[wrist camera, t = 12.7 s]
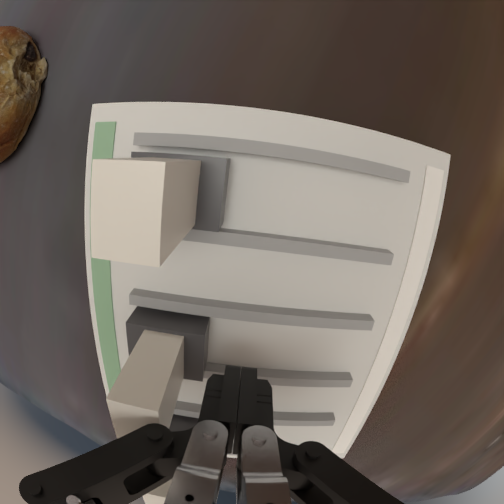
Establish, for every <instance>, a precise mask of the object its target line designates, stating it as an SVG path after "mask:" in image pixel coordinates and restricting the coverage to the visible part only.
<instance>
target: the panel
mask: <svg viewBox="0 0 504 504" xmlns="http://www.w3.org/2000/svg"><path fill="white" fill-rule="evenodd" d="M131 152H155V153H173V154H187V155H200V156H211V157H222V158H231V159H230V168H229V176H228V185H227V194H226V203H225V212H224V221H223V224H222V226H221V229H220V231H219V232H212V231H203V230H194V229H191V230H190V231H189V232H188V234H187V235H186V236H185V237H184V238H183V240H182V241H181V242H180V243H179V244H178V246H177V247H176V248H175V249H174V250H173V252H172V253H171V254H170V255H169V256H168V258H167V259H166V260H165V261H164V263H163V264H162V265H161V266H160V267H153V266H145V265H138V264H131V263H124V262H118V261H111V260H104V259H97V258H91V226H90V208H91V176H92V160H93V159H107V158H131ZM449 163H450V154H447V153H444V152H442V151H439V150H436V149H433V148H430V147H427V146H424V145H421V144H418V143H415V142H412V141H409V140H405V139H402V138H399V137H395V136H392V135H388V134H385V133H381V132H378V131H374V130H370V129H366V128H362V127H358V126H354V125H349V124H345V123H341V122H336V121H331V120H326V119H321V118H316V117H311V116H305V115H300V114H294V113H287V112H281V111H274V110H267V109H259V108H250V107H241V106H231V105H219V104H205V103H185V102H120V103H101V104H93V105H92V112H91V120H90V128H89V137H88V148H87V160H86V177H85V250H86V268H87V280H88V291H89V301H90V309H91V317H92V324H93V331H94V337H95V343H96V349H97V354H98V360H99V365H100V370H101V374H102V379H103V383H104V388H105V392H106V396H108V394H109V392H110V390H111V388H112V387H113V385H114V383H115V381H116V379H117V377H118V376H119V374H120V372H121V370H122V368H123V366H124V365H125V363H126V361H127V359H128V357H129V352H128V343H127V334H126V321H127V320H128V318H129V317H130V315H131V314H132V313H133V311H134V310H135V308H136V307H137V306H141V307H147V308H153V309H159V310H165V311H172V312H178V313H185V314H192V315H199V316H207V317H210V324H209V339H208V355H207V363H206V368H205V373H204V377H203V382H201V381H194V380H188V379H183V381H182V384H181V388H180V391H179V395H178V399H177V402H176V406H175V409H174V413H173V414H176V415H181V416H187V417H194V418H199V415H200V410H201V406H202V401H203V397H204V392H205V388H206V383H207V380H208V379H209V378H210V377H211V376H212V374H220V375H224V373H225V366H226V365H233V366H241V369H242V367H250V368H257V379H264V380H268V382H269V383H270V385H271V387H272V397H273V421H274V431H275V433H276V434H277V436H278V437H279V438H281V439H282V440H284V441H286V442H289V443H292V444H296V445H300V444H301V443H303V442H306V441H316V442H319V443H321V444H323V445H325V446H326V447H327V448H328V449H330V450H331V451H332V452H333V453H335V454H336V455H337V456H338V457H340V458H344V457H345V455H346V454H347V452H348V450H349V449H350V447H351V446H352V444H353V442H354V441H355V439H356V437H357V435H358V434H359V432H360V430H361V428H362V427H363V425H364V423H365V421H366V419H367V417H368V416H369V414H370V412H371V410H372V408H373V406H374V404H375V402H376V400H377V398H378V396H379V394H380V392H381V390H382V388H383V386H384V384H385V382H386V380H387V377H388V375H389V373H390V371H391V369H392V366H393V364H394V362H395V359H396V357H397V355H398V352H399V350H400V348H401V345H402V343H403V340H404V338H405V335H406V332H407V330H408V327H409V324H410V322H411V319H412V316H413V313H414V311H415V308H416V305H417V302H418V299H419V296H420V293H421V290H422V286H423V283H424V280H425V276H426V273H427V270H428V266H429V262H430V259H431V255H432V251H433V247H434V243H435V239H436V235H437V231H438V226H439V222H440V217H441V212H442V207H443V202H444V196H445V190H446V184H447V178H448V171H449ZM240 376H241V373H240ZM233 443H234V440H233ZM227 457H231V458H237V454H233V447H232V453H231V454H227Z"/></svg>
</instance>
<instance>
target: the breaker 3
mask: <svg viewBox="0 0 504 504" xmlns="http://www.w3.org/2000/svg"><path fill="white" fill-rule="evenodd" d="M198 419H199V418H194V417H187V416H181V415H176V414H173V417H172V420H171V424H170V428H169V430H170V431H171V432H173V431H184V430H188V429H190V428H192V427H194V426H195V425H196V424H197V422H198ZM172 479H173V478H172ZM172 479H171V480H169V481H167V482H166V483H164V484H162V485H161V486H159V487H157V488H156V489H154V490H152V491H150V492H149V493H147V494H145V495H143V499H144V501H145V504H164V502H165V499H166V496H167V493H168V490H169V487H170V485H171V482H172Z"/></svg>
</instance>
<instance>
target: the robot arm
mask: <svg viewBox="0 0 504 504" xmlns="http://www.w3.org/2000/svg"><path fill="white" fill-rule="evenodd" d="M240 373H241V376H240ZM233 440H234V443H233ZM232 447H233V454H237V464H236V494H237V495H236V497H237V498H236V499H237V504H291V498H292V499H294V500H295V501H296V502H297V503H298V504H404V503H402V502H401V501H399V500H398V499H396V498H395V497H393V496H392V495H390V494H389V493H387V492H386V491H385V490H383V489H382V488H380V487H379V486H377V485H376V484H375V483H373V482H372V481H370V480H369V479H368V478H366V477H365V476H363V475H362V474H361V473H359V472H358V471H357V470H355V469H354V468H353V467H351V466H350V465H349V464H347V463H346V462H345V461H344V460H342V459H341V458H340V457H338V456H337V455H336V454H335V453H333V452H332V451H331V450H330V449H328V448H327V447H326V446H325V445H323V444H321V443H319V442H316V441H306V442H303V443H301V444H300V445H296V444H292V443H289V442H286V441H284V440H282V439H281V438H279V437H278V436H277V434H276V433H275V431H274V421H273V397H272V387H271V385H270V383H269V382H268V380H264V379H257V368H250V367H242V369H241V366H233V365H226V366H225V373H224V375H220V374H212V376H211V377H210V378H209V379H208V380H207V383H206V388H205V392H204V397H203V401H202V406H201V410H200V415H199V419H198V422H197V424H196V425H195V426H194V427H192V428H190V429H188V430H184V431H173V432H171V431H170V430H169V429H168V428H167V427H166V426H164V425H161V424H157V423H151V424H147V425H144V426H142V427H140V428H138V429H136V430H134V431H132V432H130V433H128V434H126V435H124V436H122V437H120V438H118V439H116V440H114V441H112V442H109V443H107V444H105V445H103V446H101V447H99V448H96V449H94V450H92V451H89V452H87V453H85V454H82V455H80V456H78V457H75V458H73V459H71V460H68V461H66V462H63V463H61V464H58V465H55V466H53V467H50V468H47V469H45V470H42V471H39V472H36V473H34V474H31V475H28V476H26V477H24V478H23V479H22V480H21V482H20V485H19V491H20V494H21V496H22V498H23V499H24V500H25V501H26V502H27V503H28V504H129V503H130V502H132V501H134V500H136V499H138V498H140V497H141V496H143V495H145V494H147V493H149V492H150V491H152V490H154V489H156V488H157V487H159V486H161V485H162V484H164V483H166V482H167V481H169V480H171V479H172V478H173V479H172V482H171V485H170V487H169V490H168V493H167V496H166V499H165V502H164V504H216V502H217V497H218V493H219V488H220V483H221V479H222V474H223V470H224V466H225V464H226V460H227V454H231V453H232ZM290 497H291V498H290Z"/></svg>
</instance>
